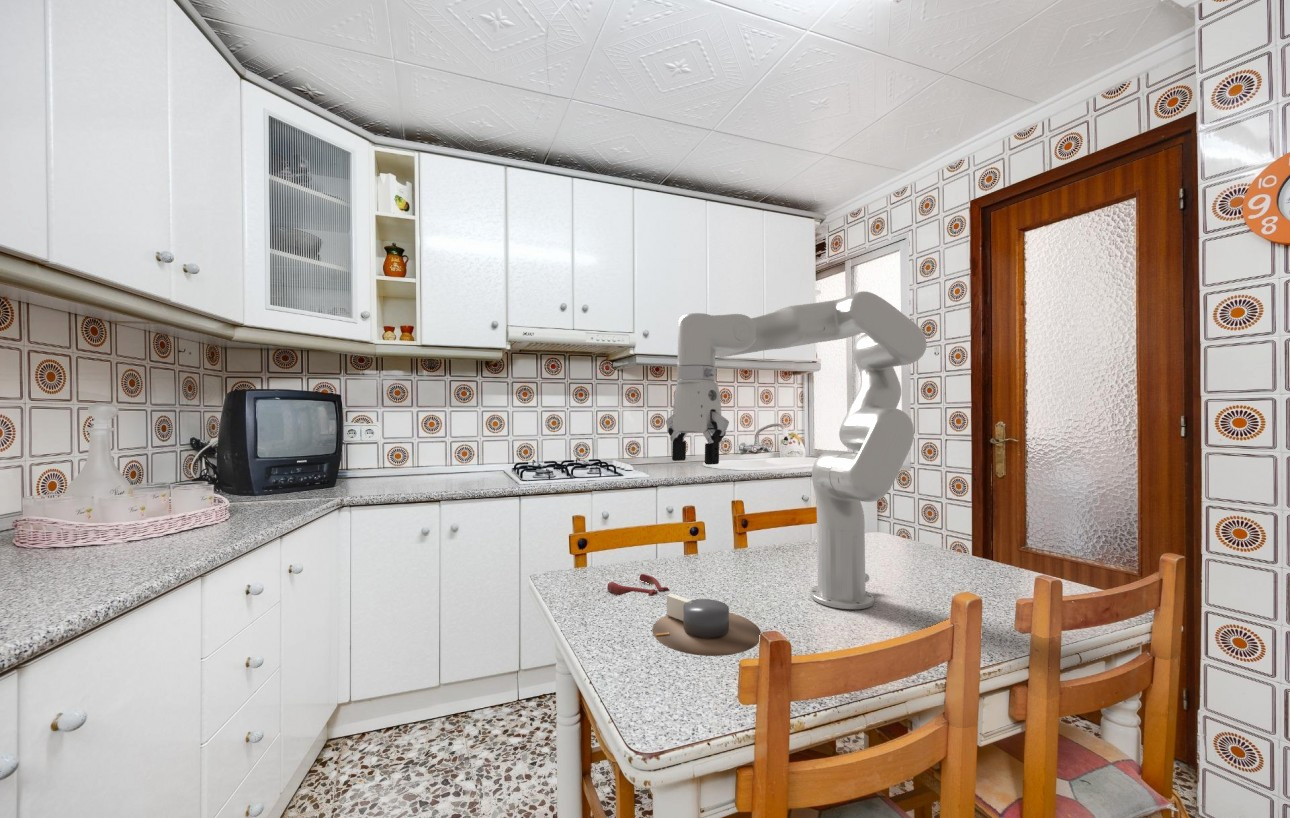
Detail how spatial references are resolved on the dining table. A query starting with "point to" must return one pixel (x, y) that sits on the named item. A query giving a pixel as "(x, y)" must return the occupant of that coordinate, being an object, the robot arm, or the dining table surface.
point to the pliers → (643, 577)
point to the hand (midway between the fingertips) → (694, 462)
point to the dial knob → (700, 615)
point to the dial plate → (735, 641)
